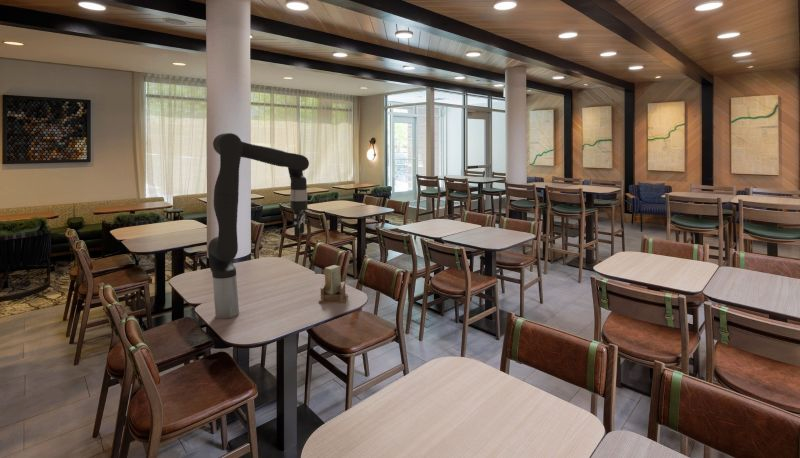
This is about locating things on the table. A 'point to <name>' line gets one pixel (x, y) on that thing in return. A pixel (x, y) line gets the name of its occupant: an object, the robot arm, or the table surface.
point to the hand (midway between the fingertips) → (299, 234)
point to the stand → (333, 295)
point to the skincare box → (332, 279)
